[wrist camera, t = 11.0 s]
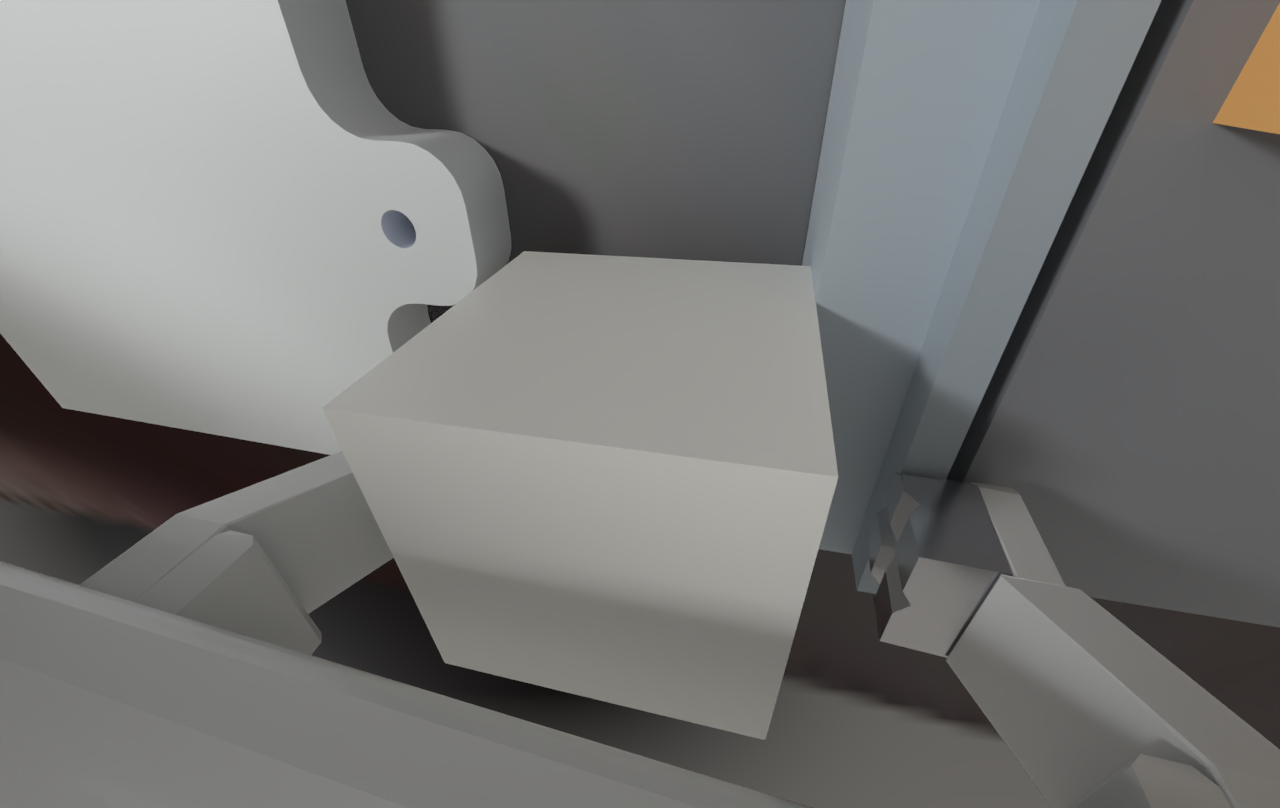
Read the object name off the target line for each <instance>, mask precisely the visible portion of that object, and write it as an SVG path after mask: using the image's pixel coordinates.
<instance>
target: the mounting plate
mask: <svg viewBox="0 0 1280 808" xmlns="http://www.w3.org/2000/svg"><path fill="white" fill-rule="evenodd" d="M511 250H512V249H511V233H510V226H509V219H508V212H507V205H506V198H505V191H504V186H503V182H502V178H501V174H500V172H499V170H498V168H497V166H496V164H495V162H494V160H493V159H492V157H491V156H490V155H489V153H488V152H487V151H486V150H485V148H484V147H483V146H481V145H480V144H479V143H478V142H477V141H475V140H474V139H473V138H471V137H469V136H467V135H465V134H463V133H461V132H457V131H452V130H440V129H422V128H417V127H412V126H410V125H408V124H406V123H404V122H402V121H400V120H399V119H397V118H396V117H395V116H394V115H392V114H391V113H390V112H389V111H388V110H387V109H386V108H385V107H384V105H383V104H382V103H381V102H380V101H379V99H378V98H377V96H376V95H375V93H374V91H373V89H372V88H371V86H370V84H369V82H368V79H367V76H366V73H365V71H364V68H363V65H362V61H361V57H360V53H359V49H358V46H357V42H356V38H355V34H354V31H353V27H352V23H351V19H350V15H349V12H348V8H347V4H346V0H0V334H1V335H2V336H3V337H4V338H5V340H6V341H7V342H8V343H9V344H10V346H11V347H12V348H13V349H14V350H15V352H16V353H17V354H18V355H19V356H20V358H21V359H22V360H23V361H24V362H25V364H26V365H27V366H28V367H29V368H30V370H31V371H32V372H33V373H34V374H35V376H36V377H37V378H38V379H39V380H40V382H41V383H42V384H43V385H44V386H45V388H46V389H47V390H48V391H49V392H50V394H51V395H52V396H53V397H54V398H55V400H56V401H57V402H58V403H59V404H60V406H61V407H62V408H65V409H71V410H77V411H83V412H88V413H94V414H100V415H105V416H111V417H117V418H123V419H128V420H134V421H140V422H145V423H151V424H157V425H163V426H168V427H174V428H180V429H185V430H191V431H197V432H202V433H208V434H214V435H220V436H225V437H231V438H237V439H242V440H248V441H254V442H260V443H265V444H271V445H277V446H282V447H288V448H294V449H300V450H305V451H311V452H317V453H322V454H328V455H332V454H335V453H338V452H340V451H342V450H341V448H340V445H339V443H338V441H337V439H336V437H335V435H334V433H333V431H332V429H331V427H330V425H329V423H328V421H327V419H326V417H325V414H324V412H323V410H322V408H323V407H324V406H325V405H326V404H328V403H329V402H330V401H332V400H333V399H334V398H335V397H337V396H338V395H339V394H341V393H342V392H343V391H344V390H346V389H347V388H348V387H350V386H351V385H352V384H353V383H355V382H356V381H357V380H359V379H360V378H361V377H362V376H364V375H365V374H366V373H368V372H369V371H370V370H372V369H373V368H374V367H375V366H377V365H378V364H379V363H381V362H382V361H383V360H384V359H386V358H387V357H388V356H390V355H391V354H392V353H393V352H395V351H396V350H397V349H399V348H400V347H401V346H402V345H404V344H405V343H406V342H408V341H409V340H410V339H412V338H413V337H414V336H415V335H417V334H418V333H419V332H421V331H422V330H423V329H424V328H426V327H427V326H428V325H430V324H431V321H430V318H429V314H428V308H427V305H436V306H452V305H455V304H457V303H458V302H459V301H461V300H462V299H463V298H464V297H466V296H467V295H468V294H470V293H471V292H472V291H473V290H475V289H476V288H477V287H479V286H480V285H481V284H482V283H484V282H485V281H486V280H488V279H489V278H490V277H491V276H493V275H494V274H495V273H497V272H498V271H499V270H500V269H502V268H503V267H504V266H506V264H507V262H508V261H509V258H510V254H511Z"/></svg>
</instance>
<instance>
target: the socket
mask: <svg viewBox="0 0 1280 808" xmlns="http://www.w3.org/2000/svg"><path fill="white" fill-rule="evenodd" d="M1161 1H1162V0H846V4H845V10H844V16H843V22H842V28H841V34H840V40H839V46H838V52H837V58H836V64H835V70H834V76H833V82H832V88H831V94H830V100H829V106H828V112H827V118H826V124H825V130H824V136H823V142H822V148H821V154H820V160H819V166H818V172H817V178H816V184H815V190H814V196H813V202H812V208H811V214H810V221H809V227H808V233H807V239H806V245H805V251H804V257H803V263H802V266H811V271H812V278H813V285H814V293H815V301H816V308H817V316H818V324H819V331H820V339H821V347H822V354H823V362H824V370H825V378H826V385H827V393H828V401H829V408H830V416H831V424H832V431H833V439H834V447H835V455H836V462H837V470H838V480H837V484H836V488H835V491H834V495H833V498H832V502H831V506H830V509H829V513H828V516H827V520H826V524H825V527H824V531H823V535H822V538H821V542H820V545H819V549H820V550H827V551H833V552H839V553H846V554H852V561H853V568H854V575H855V582H856V589H857V591H861V592H867V593H872V594H876V593H877V590H878V588H879V585H880V583H879V582H878V581H877V580H876V579H875V578H874V576H873V575H872V574H871V572H870V563H869V542H870V535H871V528H872V525H873V522H874V519H875V516H876V513H877V512H878V511H880V510H882V509H883V508H885V507H887V504H886V498H885V492H884V491H885V488H886V486H887V483H888V480H889V478H890V477H891V476H892V474H893V473H894V472H899V473H906V474H913V475H919V476H926V477H933V478H940V479H946V478H947V476H948V474H949V472H950V469H951V467H952V465H953V463H954V461H955V458H956V456H957V454H958V452H959V450H960V447H961V445H962V443H963V441H964V438H965V436H966V434H967V432H968V430H969V427H970V425H971V423H972V421H973V418H974V416H975V414H976V412H977V410H978V407H979V405H980V403H981V401H982V398H983V396H984V394H985V392H986V390H987V387H988V385H989V383H990V381H991V378H992V376H993V374H994V372H995V370H996V367H997V365H998V363H999V361H1000V358H1001V356H1002V354H1003V352H1004V350H1005V347H1006V345H1007V343H1008V341H1009V338H1010V336H1011V334H1012V332H1013V330H1014V327H1015V325H1016V323H1017V321H1018V318H1019V316H1020V314H1021V312H1022V310H1023V307H1024V305H1025V303H1026V301H1027V298H1028V296H1029V294H1030V292H1031V290H1032V287H1033V285H1034V283H1035V281H1036V278H1037V276H1038V274H1039V272H1040V270H1041V267H1042V265H1043V263H1044V261H1045V258H1046V256H1047V254H1048V252H1049V250H1050V247H1051V245H1052V243H1053V241H1054V238H1055V236H1056V234H1057V232H1058V230H1059V227H1060V225H1061V223H1062V221H1063V218H1064V216H1065V214H1066V212H1067V210H1068V207H1069V205H1070V203H1071V201H1072V198H1073V196H1074V194H1075V192H1076V190H1077V187H1078V185H1079V183H1080V181H1081V178H1082V176H1083V174H1084V172H1085V170H1086V167H1087V165H1088V163H1089V161H1090V158H1091V156H1092V154H1093V152H1094V150H1095V147H1096V145H1097V143H1098V141H1099V138H1100V136H1101V134H1102V132H1103V130H1104V127H1105V125H1106V123H1107V121H1108V118H1109V116H1110V114H1111V112H1112V110H1113V107H1114V105H1115V103H1116V101H1117V98H1118V96H1119V94H1120V92H1121V90H1122V87H1123V85H1124V83H1125V81H1126V78H1127V76H1128V74H1129V72H1130V70H1131V67H1132V65H1133V63H1134V61H1135V58H1136V56H1137V54H1138V52H1139V50H1140V47H1141V45H1142V43H1143V41H1144V38H1145V36H1146V34H1147V32H1148V30H1149V27H1150V25H1151V23H1152V21H1153V18H1154V16H1155V14H1156V12H1157V10H1158V7H1159V5H1160V3H1161Z"/></svg>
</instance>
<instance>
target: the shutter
mask: <svg viewBox="0 0 1280 808" xmlns="http://www.w3.org/2000/svg"><path fill="white" fill-rule="evenodd" d="M946 480H953V481H960V482H967V483H971V482H973V483H981V484H988V485H996V486H1003V487H1011V488H1013V489H1014V490H1016V491H1017V492H1018V493H1019V494H1020V496H1021V498H1022V500H1023V502H1024V504H1025V506H1026V508H1027V510H1028V512H1029V514H1030V516H1031V518H1032V520H1033V522H1034V524H1035V526H1036V528H1037V530H1038V532H1039V534H1040V535H1041V537H1042V539H1043V541H1044V543H1045V545H1046V547H1047V549H1048V551H1049V553H1050V555H1051V557H1052V559H1053V561H1054V563H1055V565H1056V567H1057V569H1058V571H1059V573H1060V575H1061V577H1062V579H1063V581H1064V583H1065V585H1066V587H1071V588H1076V589H1080V590H1082V591H1083V592H1084V593H1085V594H1087V595H1088V596H1089V597H1092V598H1098V599H1104V600H1110V601H1117V602H1123V603H1129V604H1135V605H1142V606H1148V607H1154V608H1160V609H1167V610H1173V611H1179V612H1185V613H1192V614H1198V615H1204V616H1210V617H1217V618H1223V619H1229V620H1235V621H1242V622H1248V623H1254V624H1261V625H1267V626H1273V627H1279V628H1280V0H1162V1H1161V3H1160V5H1159V7H1158V10H1157V12H1156V14H1155V16H1154V18H1153V21H1152V23H1151V25H1150V27H1149V30H1148V32H1147V34H1146V36H1145V38H1144V41H1143V43H1142V45H1141V47H1140V50H1139V52H1138V54H1137V56H1136V58H1135V61H1134V63H1133V65H1132V67H1131V70H1130V72H1129V74H1128V76H1127V78H1126V81H1125V83H1124V85H1123V87H1122V90H1121V92H1120V94H1119V96H1118V98H1117V101H1116V103H1115V105H1114V107H1113V110H1112V112H1111V114H1110V116H1109V118H1108V121H1107V123H1106V125H1105V127H1104V130H1103V132H1102V134H1101V136H1100V138H1099V141H1098V143H1097V145H1096V147H1095V150H1094V152H1093V154H1092V156H1091V158H1090V161H1089V163H1088V165H1087V167H1086V170H1085V172H1084V174H1083V176H1082V178H1081V181H1080V183H1079V185H1078V187H1077V190H1076V192H1075V194H1074V196H1073V198H1072V201H1071V203H1070V205H1069V207H1068V210H1067V212H1066V214H1065V216H1064V218H1063V221H1062V223H1061V225H1060V227H1059V230H1058V232H1057V234H1056V236H1055V238H1054V241H1053V243H1052V245H1051V247H1050V250H1049V252H1048V254H1047V256H1046V258H1045V261H1044V263H1043V265H1042V267H1041V270H1040V272H1039V274H1038V276H1037V278H1036V281H1035V283H1034V285H1033V287H1032V290H1031V292H1030V294H1029V296H1028V298H1027V301H1026V303H1025V305H1024V307H1023V310H1022V312H1021V314H1020V316H1019V318H1018V321H1017V323H1016V325H1015V327H1014V330H1013V332H1012V334H1011V336H1010V338H1009V341H1008V343H1007V345H1006V347H1005V350H1004V352H1003V354H1002V356H1001V358H1000V361H999V363H998V365H997V367H996V370H995V372H994V374H993V376H992V378H991V381H990V383H989V385H988V387H987V390H986V392H985V394H984V396H983V398H982V401H981V403H980V405H979V407H978V410H977V412H976V414H975V416H974V418H973V421H972V423H971V425H970V427H969V430H968V432H967V434H966V436H965V438H964V441H963V443H962V445H961V447H960V450H959V452H958V454H957V456H956V458H955V461H954V463H953V465H952V467H951V469H950V472H949V474H948V476H947V478H946Z"/></svg>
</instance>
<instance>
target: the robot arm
mask: <svg viewBox="0 0 1280 808" xmlns="http://www.w3.org/2000/svg"><path fill="white" fill-rule="evenodd" d="M884 492H885V498H886V504H887V507H885V508H883V509H882V510H880V511H878V512H877V513H876V516H875V519H874V522H873V525H872V528H871V535H870V542H869V563H870V572H871V574H872V575H873V576H874V578H875V579H876V580H877V581H878V582H879V583H880V585H879V588H878V590H877V593H876V595H875V598H874V603H875V610H876V618H877V625H878V632H879V640H880V641H882V642H886V643H890V644H894V645H898V646H902V647H906V648H910V649H914V650H918V651H922V652H926V653H930V654H934V655H938V656H942V657H946V658H947V659H946V662H947V663H948V664H949V666H950V667H951V669H952V670H953V671H954V673H955V674H956V675H957V677H958V678H959V680H960V681H961V682H962V684H963V685H964V687H965V688H966V689H967V691H968V692H969V694H970V695H971V696H972V698H973V699H974V700H975V702H976V703H977V705H978V706H979V707H980V709H981V710H982V712H983V713H984V714H985V716H986V717H987V718H988V720H989V721H990V723H991V724H992V725H993V727H994V728H995V730H996V731H997V732H998V734H999V735H1000V736H1001V738H1002V739H1003V741H1004V742H1005V743H1006V745H1007V746H1008V748H1009V749H1010V750H1011V752H1012V753H1013V754H1014V756H1015V757H1016V759H1017V760H1018V761H1019V762H1020V764H1021V765H1022V767H1023V768H1024V770H1025V771H1026V772H1027V774H1028V775H1029V777H1030V778H1031V779H1032V781H1033V782H1034V783H1035V785H1036V786H1037V788H1038V789H1039V790H1040V792H1041V793H1042V794H1043V796H1044V797H1045V799H1046V800H1047V801H1048V803H1049V804H1050V806H1051V807H1052V808H1280V749H1278V748H1277V747H1276V746H1275V745H1273V744H1272V743H1271V742H1270V741H1268V740H1267V739H1266V738H1265V737H1264V736H1262V735H1261V734H1260V733H1259V732H1257V731H1256V730H1255V729H1254V728H1252V727H1251V726H1250V725H1249V724H1247V723H1246V722H1245V721H1244V720H1242V719H1241V718H1240V717H1239V716H1237V715H1236V714H1235V713H1234V712H1232V711H1231V710H1230V709H1229V708H1227V707H1226V706H1225V705H1224V704H1222V703H1221V702H1220V701H1219V700H1217V699H1216V698H1215V697H1214V696H1212V695H1211V694H1210V693H1209V692H1207V691H1206V690H1205V689H1204V688H1202V687H1201V686H1200V685H1199V684H1198V683H1196V682H1195V681H1194V680H1193V679H1191V678H1190V677H1189V676H1188V675H1186V674H1185V673H1184V672H1183V671H1181V670H1180V669H1179V668H1178V667H1176V666H1175V665H1174V664H1173V663H1171V662H1170V661H1169V660H1168V659H1166V658H1165V657H1164V656H1163V655H1161V654H1160V653H1159V652H1158V651H1156V650H1155V649H1154V648H1153V647H1151V646H1150V645H1149V644H1148V643H1146V642H1145V641H1144V640H1143V639H1141V638H1140V637H1139V636H1138V635H1136V634H1135V633H1134V632H1133V631H1132V630H1130V629H1129V628H1128V627H1127V626H1125V625H1124V624H1123V623H1122V622H1120V621H1119V620H1118V619H1117V618H1115V617H1114V616H1113V615H1112V614H1110V613H1109V612H1108V611H1107V610H1105V609H1104V608H1103V607H1102V606H1100V605H1099V604H1098V603H1097V602H1095V601H1094V600H1093V599H1092V598H1090V597H1089V596H1088V595H1087V594H1085V593H1084V592H1083V591H1082V590H1080V589H1076V588H1071V587H1066V585H1065V583H1064V581H1063V579H1062V577H1061V575H1060V573H1059V571H1058V569H1057V567H1056V565H1055V563H1054V561H1053V559H1052V557H1051V555H1050V553H1049V551H1048V549H1047V547H1046V545H1045V543H1044V541H1043V539H1042V537H1041V535H1040V534H1039V532H1038V530H1037V528H1036V526H1035V524H1034V522H1033V520H1032V518H1031V516H1030V514H1029V512H1028V510H1027V508H1026V506H1025V504H1024V502H1023V500H1022V498H1021V496H1020V494H1019V493H1018V492H1017V491H1016V490H1014V489H1013V488H1011V487H1003V486H996V485H988V484H981V483H973V482H971V483H967V482H960V481H953V480H946V479H940V478H933V477H926V476H919V475H913V474H906V473H899V472H894V473H893V474H892V476H891V477H890V478H889V480H888V483H887V486H886V488H885V491H884ZM393 558H394V557H393V555H392V553H391V551H390V549H389V547H388V545H387V543H386V540H385V538H384V536H383V534H382V532H381V530H380V528H379V526H378V524H377V522H376V520H375V518H374V516H373V514H372V512H371V509H370V507H369V505H368V503H367V501H366V499H365V497H364V495H363V493H362V491H361V489H360V487H359V485H358V483H357V481H356V479H355V476H354V474H353V472H352V470H351V468H350V466H349V464H348V462H347V460H346V458H345V456H344V454H343V452H342V451H340V452H338V453H335V454H332V455H330V456H327V457H324V458H322V459H319V460H317V461H314V462H311V463H309V464H306V465H304V466H301V467H298V468H296V469H293V470H290V471H288V472H285V473H283V474H280V475H277V476H275V477H272V478H269V479H267V480H264V481H262V482H259V483H256V484H254V485H251V486H249V487H246V488H243V489H241V490H238V491H235V492H233V493H230V494H228V495H225V496H222V497H220V498H217V499H214V500H212V501H209V502H207V503H204V504H201V505H199V506H196V507H193V508H191V509H188V510H186V511H183V512H180V513H178V514H176V515H174V516H173V517H172V518H170V519H169V520H168V521H166V522H165V523H164V524H162V525H161V526H159V527H158V528H157V529H155V530H154V531H153V532H151V533H150V534H148V535H147V536H146V537H144V538H143V539H142V540H140V541H139V542H138V543H136V544H135V545H134V546H132V547H131V548H130V549H128V550H127V551H125V552H124V553H123V554H121V555H120V556H119V557H117V558H116V559H115V560H113V561H112V562H110V563H109V564H108V565H106V566H105V567H103V568H102V569H101V570H99V571H98V572H97V573H95V574H94V575H93V576H91V577H90V578H88V579H87V580H86V581H84V582H83V583H82V584H80V585H77V584H74V583H70V582H67V581H64V580H61V579H57V578H54V577H50V576H47V575H44V574H40V573H37V572H34V571H31V570H27V569H24V568H21V567H18V566H15V565H11V564H8V563H5V562H1V561H0V808H812V807H808V806H805V805H802V804H798V803H795V802H792V801H788V800H785V799H782V798H779V797H775V796H772V795H769V794H765V793H762V792H759V791H756V790H752V789H749V788H745V787H742V786H739V785H736V784H732V783H729V782H726V781H723V780H719V779H716V778H713V777H710V776H706V775H703V774H700V773H696V772H693V771H690V770H687V769H683V768H680V767H676V766H673V765H670V764H667V763H663V762H660V761H657V760H654V759H650V758H647V757H644V756H640V755H637V754H634V753H630V752H627V751H624V750H620V749H617V748H614V747H611V746H607V745H604V744H600V743H597V742H594V741H591V740H588V739H584V738H581V737H578V736H575V735H571V734H568V733H564V732H562V731H558V730H555V729H551V728H548V727H545V726H542V725H538V724H535V723H531V722H528V721H525V720H522V719H518V718H515V717H512V716H509V715H505V714H502V713H499V712H496V711H492V710H489V709H486V708H483V707H479V706H476V705H473V704H469V703H466V702H463V701H460V700H456V699H453V698H449V697H446V696H443V695H440V694H437V693H433V692H430V691H427V690H423V689H420V688H417V687H413V686H410V685H407V684H404V683H400V682H397V681H394V680H390V679H387V678H384V677H380V676H377V675H374V674H371V673H367V672H364V671H360V670H357V669H354V668H351V667H347V666H344V665H341V664H337V663H334V662H331V661H328V660H324V659H321V658H318V657H314V656H311V654H312V653H313V652H314V650H315V649H316V648H317V647H318V645H319V644H320V643H321V632H320V631H319V629H318V628H317V626H316V625H315V623H314V622H313V621H312V619H311V618H310V616H309V615H308V614H309V613H310V612H312V611H313V610H315V609H316V608H318V607H319V606H320V605H322V604H324V603H325V602H327V601H328V600H330V599H331V598H333V597H335V596H336V595H338V594H339V593H341V592H342V591H343V590H345V589H347V588H348V587H350V586H351V585H353V584H354V583H356V582H357V581H359V580H361V579H362V578H364V577H365V576H367V575H368V574H370V573H371V572H373V571H374V570H376V569H377V568H379V567H380V566H382V565H383V564H385V563H386V562H388V561H390V560H391V559H393Z"/></svg>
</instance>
